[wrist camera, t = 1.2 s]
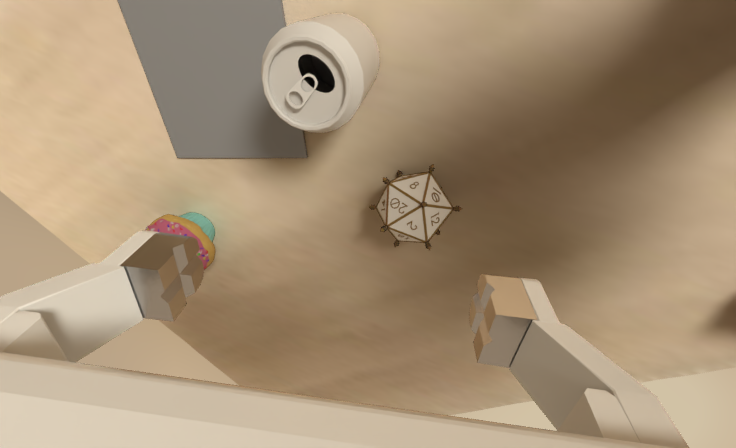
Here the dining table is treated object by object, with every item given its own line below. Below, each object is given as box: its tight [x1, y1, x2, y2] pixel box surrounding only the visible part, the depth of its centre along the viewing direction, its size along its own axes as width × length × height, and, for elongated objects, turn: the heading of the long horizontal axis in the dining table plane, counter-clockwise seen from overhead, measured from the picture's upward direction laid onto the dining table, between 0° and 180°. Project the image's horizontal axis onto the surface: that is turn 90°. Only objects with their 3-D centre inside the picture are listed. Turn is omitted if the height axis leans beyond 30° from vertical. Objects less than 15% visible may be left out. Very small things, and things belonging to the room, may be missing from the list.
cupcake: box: [145, 213, 215, 270], centre depth 43 cm, size 9×8×12 cm
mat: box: [118, 0, 307, 158], centre depth 35 cm, size 16×20×1 cm
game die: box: [369, 164, 462, 250], centre depth 37 cm, size 9×8×10 cm
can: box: [261, 13, 380, 133], centre depth 29 cm, size 8×8×12 cm
